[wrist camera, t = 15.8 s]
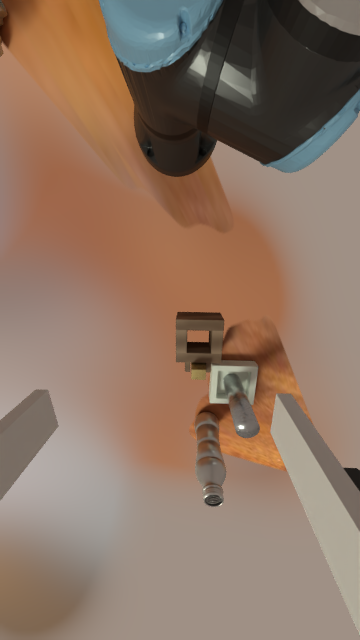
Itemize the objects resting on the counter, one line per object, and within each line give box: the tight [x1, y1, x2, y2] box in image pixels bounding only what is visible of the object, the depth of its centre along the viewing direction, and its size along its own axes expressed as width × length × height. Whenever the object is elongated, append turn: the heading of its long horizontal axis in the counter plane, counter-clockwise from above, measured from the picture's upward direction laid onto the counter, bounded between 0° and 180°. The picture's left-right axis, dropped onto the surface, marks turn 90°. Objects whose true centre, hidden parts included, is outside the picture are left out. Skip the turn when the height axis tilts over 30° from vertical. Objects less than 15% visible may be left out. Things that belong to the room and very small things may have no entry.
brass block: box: [191, 362, 206, 380], centre depth 46 cm, size 2×3×8 cm
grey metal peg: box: [223, 373, 260, 438], centre depth 44 cm, size 4×4×15 cm
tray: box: [209, 360, 258, 405], centre depth 50 cm, size 11×11×3 cm
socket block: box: [176, 312, 224, 372], centre depth 46 cm, size 13×10×6 cm
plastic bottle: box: [194, 412, 226, 507], centre depth 46 cm, size 6×7×20 cm
